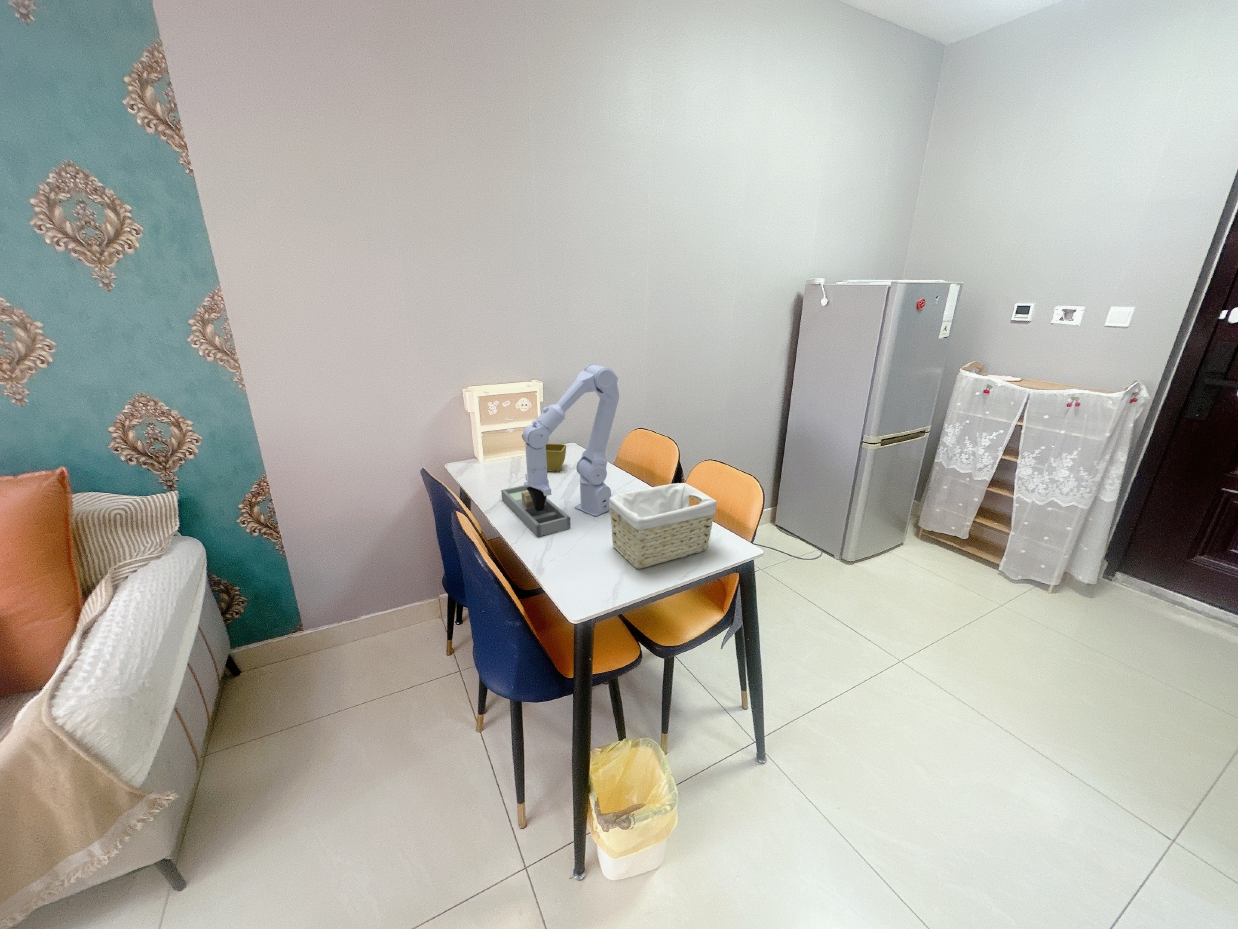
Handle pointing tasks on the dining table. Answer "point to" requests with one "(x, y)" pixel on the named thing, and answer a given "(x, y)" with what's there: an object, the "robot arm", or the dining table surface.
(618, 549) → the storage basket
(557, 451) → the flower pot
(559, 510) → the box
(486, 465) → the dining table surface
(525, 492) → the maple block
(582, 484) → the robot arm
